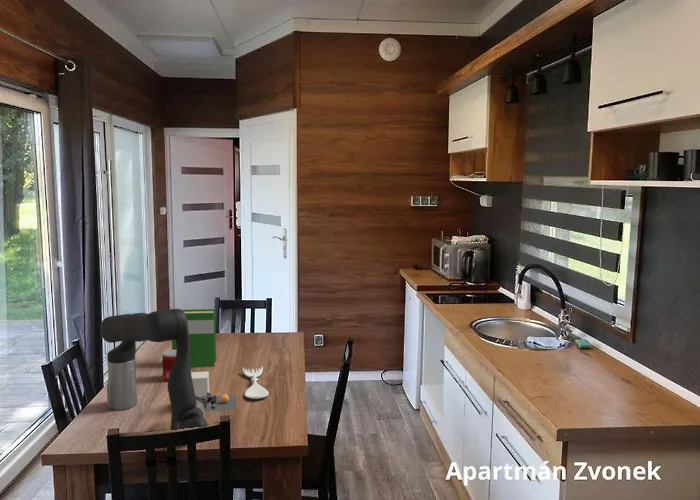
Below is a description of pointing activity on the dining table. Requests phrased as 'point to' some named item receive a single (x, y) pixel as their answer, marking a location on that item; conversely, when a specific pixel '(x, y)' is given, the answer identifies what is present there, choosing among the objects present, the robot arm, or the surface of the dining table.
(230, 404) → the mat
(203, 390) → the white rectangular block
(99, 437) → the dining table surface
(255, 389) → the white piece
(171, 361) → the canned food
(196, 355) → the hardback book
